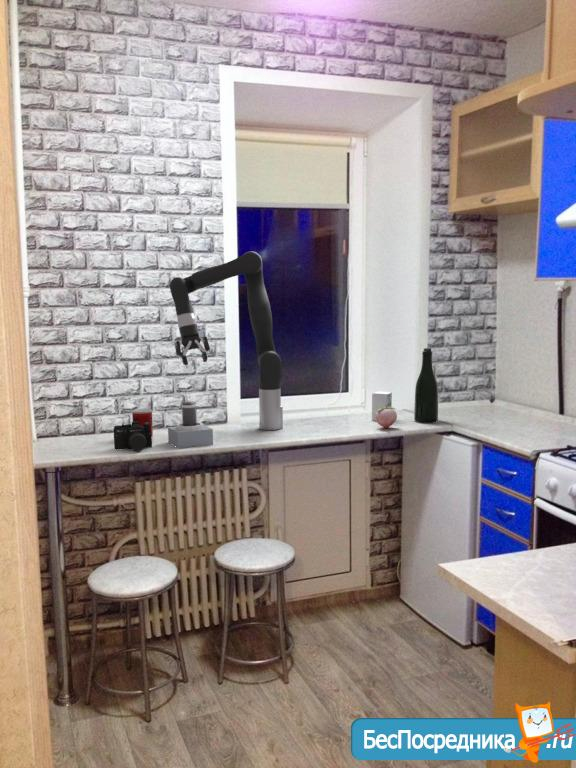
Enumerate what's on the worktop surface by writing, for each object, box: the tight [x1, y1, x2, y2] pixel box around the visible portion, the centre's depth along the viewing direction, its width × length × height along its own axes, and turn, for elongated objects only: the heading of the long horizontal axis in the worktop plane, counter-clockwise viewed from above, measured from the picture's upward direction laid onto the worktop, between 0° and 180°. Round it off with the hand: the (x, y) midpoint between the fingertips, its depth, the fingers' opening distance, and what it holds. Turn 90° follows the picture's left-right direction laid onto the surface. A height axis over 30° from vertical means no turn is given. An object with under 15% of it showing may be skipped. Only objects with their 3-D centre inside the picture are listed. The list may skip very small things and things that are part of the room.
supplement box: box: [371, 391, 393, 422], centre depth 307 cm, size 7×7×13 cm
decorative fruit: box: [375, 405, 398, 429], centre depth 288 cm, size 9×8×10 cm
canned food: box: [131, 408, 154, 436], centre depth 273 cm, size 8×8×11 cm
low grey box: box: [167, 421, 214, 449], centre depth 261 cm, size 14×12×8 cm
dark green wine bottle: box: [413, 347, 439, 424], centre depth 301 cm, size 10×10×33 cm
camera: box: [113, 421, 153, 452], centre depth 251 cm, size 14×11×10 cm
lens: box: [181, 401, 197, 426], centre depth 260 cm, size 5×5×10 cm
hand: (195, 363), depth 280 cm, fingers open, 8 cm apart
